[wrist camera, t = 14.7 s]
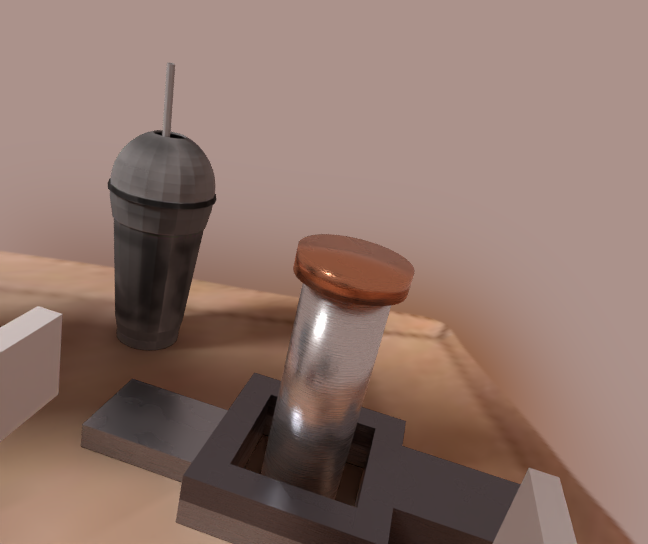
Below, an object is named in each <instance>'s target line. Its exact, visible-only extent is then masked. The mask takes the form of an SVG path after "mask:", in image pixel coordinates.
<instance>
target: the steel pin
mask: <svg viewBox="0 0 648 544" xmlns="http://www.w3.org/2000/svg"><path fill="white" fill-rule="evenodd" d="M293 270H294V273H295V275H296V277H297V278H298V279H299V280H300V281H301V282H302V283H303V285H302V289H301V294H300V298H299V303H298V307H297V312H296V316H295V321H294V325H293V330H292V334H291V339H290V343H289V348H288V352H287V357H286V362H285V366H284V371H283V375H282V380H281V384H280V389H279V393H278V398H277V402H276V407H275V411H274V416H273V420H272V425H271V430H270V434H269V439H268V443H267V448H266V452H265V457H264V461H263V466H262V470H261V475H264V476H267V477H269V478H272V479H275V480H278V481H281V482H284V483H287V484H290V485H293V486H295V487H298V488H301V489H304V490H307V491H310V492H313V493H316V494H318V495H321V496H324V497H327V498H330V499H333V500H335V498H336V494H337V491H338V487H339V484H340V480H341V477H342V473H343V470H344V467H345V463H346V460H347V456H348V453H349V449H350V446H351V442H352V439H353V435H354V432H355V429H356V425H357V422H358V418H359V415H360V411H361V408H362V404H363V401H364V398H365V394H366V391H367V387H368V384H369V380H370V377H371V373H372V370H373V366H374V363H375V360H376V356H377V353H378V349H379V346H380V342H381V339H382V335H383V332H384V328H385V325H386V322H387V318H388V315H389V311H390V308H391V305H395V304H399V303H401V302H403V301H404V300H405V299H406V298H407V295H408V292H409V288H410V285H411V282H412V279H413V275H414V268H413V266H412V264H411V263H410V262H409V261H407V259H405V258H404V257H403V256H401V255H399V254H398V253H396V252H394V251H392V250H390V249H388V248H385V247H383V246H380V245H378V244H374V243H371V242H368V241H365V240H361V239H357V238H352V237H347V236H340V235H329V234H328V235H327V234H326V235H325V234H321V235H311V236H307V237H305V238H303V239H302V240H300V241H299V244H298V248H297V253H296V257H295V262H294V267H293Z"/></svg>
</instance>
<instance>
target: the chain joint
mask: <svg viewBox="0 0 648 544" xmlns="http://www.w3.org/2000/svg"><path fill="white" fill-rule="evenodd" d="M280 384H281V381H279V380H276V379H273V378H270V377H266V376H263V375H260V374H257V373H254V374H253V375H252V377H251V378H250V380H249V381H248V382H247V384H246V385H245V387H244V388H243V390H242V391H241V393H240V394H239V395H238V397H237V398H236V400H235V401H234V403H233V404H232V406H231V407H230V408H229V410H225V409H222V408H219V407H216V406H213V405H210V404H207V403H204V402H201V401H198V400H195V399H192V398H189V397H186V396H183V395H180V394H177V393H174V392H171V391H168V390H165V389H162V388H159V387H156V386H153V385H150V384H147V383H144V382H141V381H138V380H135V379H131V380H130V381H129V382H128V383H127V384H126V385H125V386H124V387H123V388H122V389H121V390H119V391H118V392H117V393H116V394H115V395H114V396H113V397H112V398H111V399H110V400H109V401H107V402H106V403H105V404H104V405H103V406H102V407H101V408H100V409H99V410H98V411H96V412H95V413H94V414H93V415H92V416H91V417H90V418H89V419H88V420H87V421H86V422H84V423H83V424H82V438H81V447H84V448H87V449H90V450H93V451H96V452H98V453H101V454H104V455H107V456H110V457H112V458H115V459H118V460H121V461H124V462H126V463H129V464H132V465H135V466H138V467H141V468H143V469H146V470H149V471H152V472H155V473H157V474H160V475H163V476H166V477H169V478H171V479H174V480H177V481H180V482H182V485H181V492H180V498H179V505H178V511H177V518H176V523H179V524H182V525H185V526H187V527H190V528H193V529H195V530H198V531H201V532H204V533H206V534H209V535H212V536H215V537H217V538H220V539H223V540H225V541H228V542H231V543H234V544H493V542H494V540H495V538H496V535H497V533H498V531H499V529H500V527H501V525H502V523H503V521H504V519H505V517H506V515H507V512H508V510H509V508H510V506H511V504H512V502H513V500H514V498H515V496H516V494H517V491H518V489H519V487H520V484H517V483H514V482H511V481H508V480H505V479H502V478H499V477H496V476H493V475H490V474H487V473H484V472H481V471H478V470H475V469H472V468H468V467H465V466H462V465H459V464H456V463H453V462H450V461H447V460H444V459H441V458H438V457H435V456H432V455H429V454H426V453H423V452H420V451H416V450H413V449H410V448H407V447H404V446H402V444H403V437H404V430H405V423H406V421H404V420H401V419H397V418H394V417H391V416H388V415H385V414H382V413H379V412H376V411H373V410H369V409H366V408H363V407H362V408H361V411H360V415H359V418H358V422H357V425H356V429H355V432H354V435H353V439H352V442H351V446H350V449H349V453H348V456H347V460H346V462H347V463H350V464H353V465H356V466H359V467H362V468H363V472H362V476H361V481H360V485H359V489H358V493H357V497H356V502H355V506H354V507H353V506H350V505H347V504H344V503H342V502H339V501H336V500H333V499H330V498H327V497H324V496H321V495H318V494H316V493H313V492H310V491H307V490H304V489H301V488H298V487H295V486H293V485H290V484H287V483H284V482H281V481H278V480H275V479H272V478H269V477H267V476H264V475H261V474H258V473H255V472H252V471H249V470H246V469H244V467H245V465H246V463H247V461H248V460H249V458H250V456H251V454H252V452H253V451H254V449H255V447H256V445H257V443H258V441H259V440H260V438H261V436H262V434H264V435H267V436H269V434H270V430H271V425H272V420H273V416H274V411H275V407H276V402H277V398H278V393H279V389H280Z"/></svg>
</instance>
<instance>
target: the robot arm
mask: <svg viewBox="0 0 648 544" xmlns="http://www.w3.org/2000/svg"><path fill="white" fill-rule="evenodd" d="M61 332H62V314H61V313H58V312H55V311H51V310H48V309H45V308H42V307H39V306H37V307H36V308H34V309H32V310H30V311H28V312H27V313H25V314H23V315H21V316H20V317H18V318H16V319H14V320H12V321H11V322H9V323H7V324H5V325H4V326H2V327H0V442H1V441H2V440H3V439H4V438H6V437H7V436H8V435H9V434H11V433H12V432H13V431H14V430H15V429H17V428H18V427H19V426H20V425H22V424H23V423H24V422H25V421H26V420H28V419H29V418H30V417H31V416H33V415H34V414H35V413H36V412H37V411H39V410H40V409H41V408H42V407H44V406H45V405H46V404H47V403H48V402H50V401H51V400H52V399H53V398H55V397H56V396H57V395H58V393H59V373H60V353H61ZM493 544H577V542H576V538H575V534H574V530H573V527H572V523H571V519H570V515H569V512H568V508H567V504H566V500H565V497H564V493H563V489H562V485H561V482H560V478H559V477H557V476H553V475H550V474H547V473H544V472H541V471H538V470H535V469H532V468H528V470H527V473H526V475H525V477H524V479H523V481H522V483H521V485H520V487H519V489H518V491H517V494H516V496H515V498H514V500H513V502H512V504H511V506H510V508H509V510H508V512H507V515H506V517H505V519H504V521H503V523H502V525H501V527H500V529H499V531H498V533H497V535H496V538H495V540H494V542H493Z"/></svg>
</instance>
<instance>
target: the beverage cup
mask: <svg viewBox="0 0 648 544" xmlns="http://www.w3.org/2000/svg"><path fill="white" fill-rule="evenodd" d="M174 73H175V64H174V63H167V72H166V88H165V104H164V118H163V131H160V130H157V131H152V132H147V133H144V134H142V135H140V136H138V137H136V138H135V139H133V140H132V141H130V142H129V143H128V144H127V145H126V146H125V147H124V148H123V149H122V151H121V152H120V153H119V155H118V157H117V159H116V160H115V162H114V165H113V168H112V173H111V178H110V179H109V182H108V189H109V190H110V200H111V208H112V215H113V217H114V263H115V316H116V323H117V338H118V339H119V340H120V342H122V343H124V344H125V345H127V346H129V347H132V348H135V349H142V350H158V349H163V348H166V347H168V346H171V345H172V344H173V343H175V342H176V340H177V337H178V331H179V328H180V325H181V323H182V320H183V316H184V312H185V307H186V303H187V299H188V295H189V290H190V286H191V282H192V277H193V273H194V268H195V264H196V260H197V256H198V252H199V247H200V243H201V239H202V235H203V230H204V229H205V227H206V225H207V222H208V219H209V216H210V213H211V210H212V205H213V204H214V203H215V201H216V194H215V177H214V173H213V169H212V167H211V164H210V162H209V160H208V158H207V157H206V155H205V153H204V152H203V151H202V150H201V149H200V147H199V146H198V145H197V144H196V143H195V142H193V141H192V140H191V139H189V138H187V137H186V136H184V135H181V134H178V133H174V132H170V131H171V116H172V102H173V87H174Z"/></svg>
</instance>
